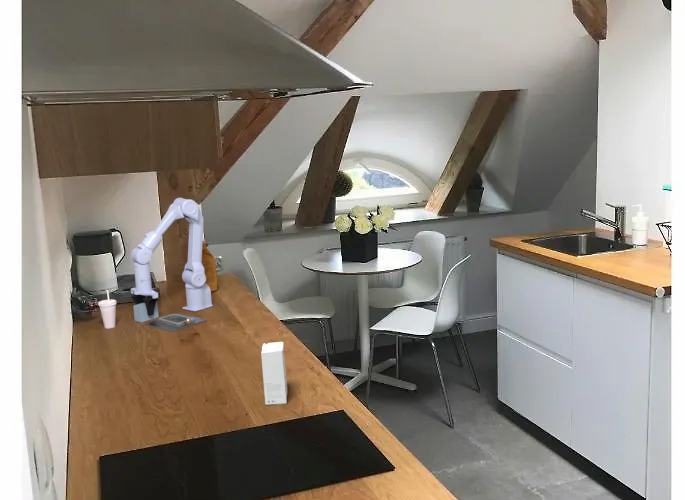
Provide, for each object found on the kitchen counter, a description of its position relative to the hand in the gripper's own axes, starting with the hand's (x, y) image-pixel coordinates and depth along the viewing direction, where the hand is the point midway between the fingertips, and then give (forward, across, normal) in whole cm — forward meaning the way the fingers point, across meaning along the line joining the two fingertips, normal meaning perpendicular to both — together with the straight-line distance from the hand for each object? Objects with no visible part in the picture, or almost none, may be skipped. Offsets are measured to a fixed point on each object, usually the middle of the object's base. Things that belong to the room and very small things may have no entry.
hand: (146, 313), depth 265 cm
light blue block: (+2, 0, 0) cm, 2 cm away
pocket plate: (+2, +14, +3) cm, 14 cm away
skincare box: (+2, +94, -26) cm, 98 cm away
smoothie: (+2, -3, -14) cm, 14 cm away
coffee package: (+2, -14, +41) cm, 43 cm away
